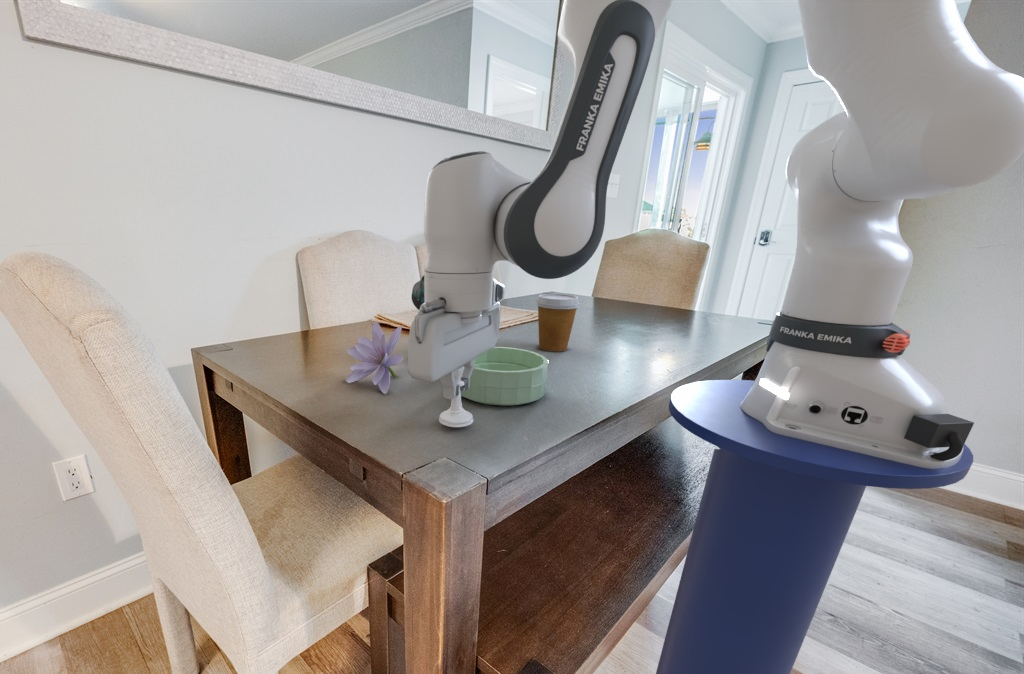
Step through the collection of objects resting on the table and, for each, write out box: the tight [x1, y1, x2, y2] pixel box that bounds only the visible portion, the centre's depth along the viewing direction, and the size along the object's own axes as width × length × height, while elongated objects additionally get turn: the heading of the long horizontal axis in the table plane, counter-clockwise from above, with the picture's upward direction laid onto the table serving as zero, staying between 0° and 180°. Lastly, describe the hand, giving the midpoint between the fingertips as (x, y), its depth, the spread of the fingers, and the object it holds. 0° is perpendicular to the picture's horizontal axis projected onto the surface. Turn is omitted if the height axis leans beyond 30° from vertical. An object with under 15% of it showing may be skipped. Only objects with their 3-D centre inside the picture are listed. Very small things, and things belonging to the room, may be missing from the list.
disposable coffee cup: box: [535, 293, 581, 352], centre depth 106 cm, size 10×10×12 cm
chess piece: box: [438, 365, 474, 428], centre depth 64 cm, size 5×5×10 cm
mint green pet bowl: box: [460, 346, 549, 407], centre depth 79 cm, size 16×16×6 cm
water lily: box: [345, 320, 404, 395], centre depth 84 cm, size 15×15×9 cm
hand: (456, 393), depth 65 cm, fingers closed on chess piece
